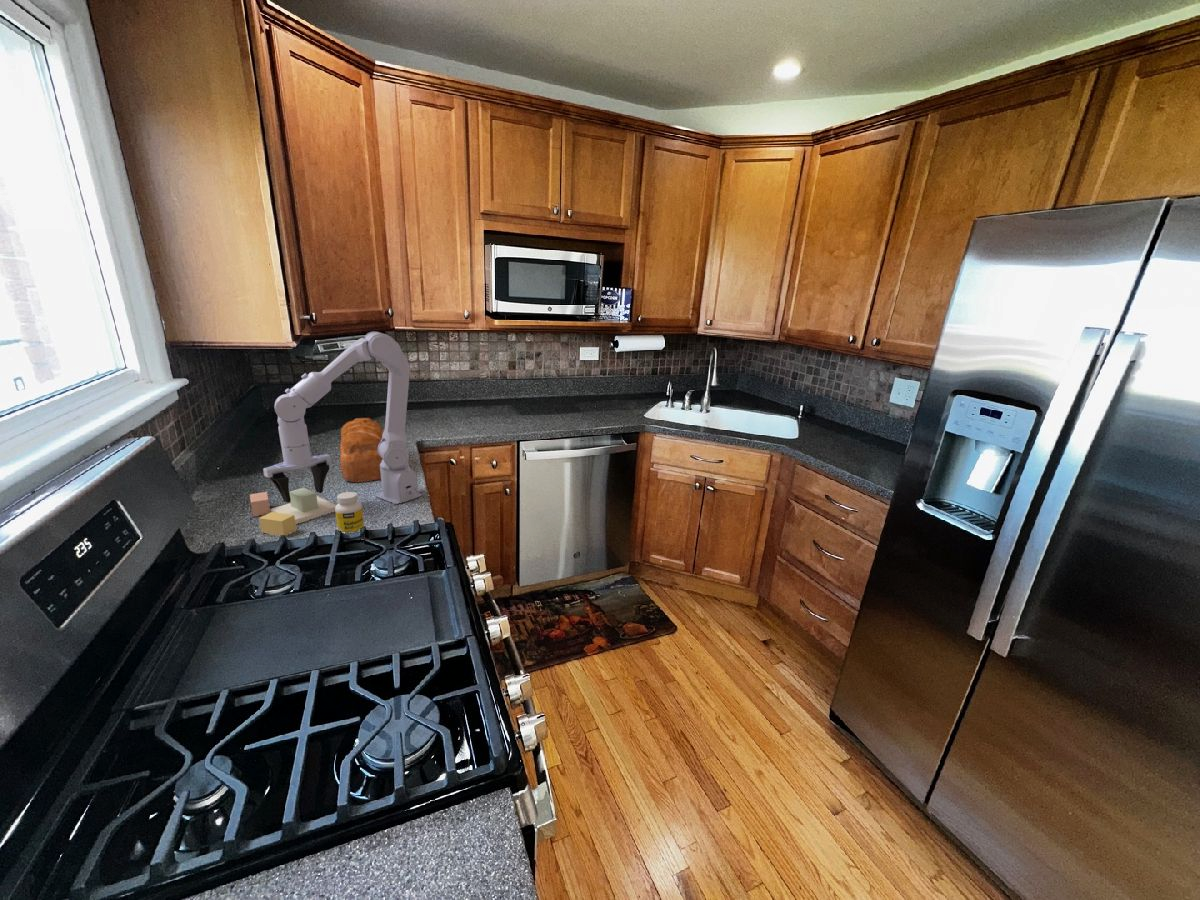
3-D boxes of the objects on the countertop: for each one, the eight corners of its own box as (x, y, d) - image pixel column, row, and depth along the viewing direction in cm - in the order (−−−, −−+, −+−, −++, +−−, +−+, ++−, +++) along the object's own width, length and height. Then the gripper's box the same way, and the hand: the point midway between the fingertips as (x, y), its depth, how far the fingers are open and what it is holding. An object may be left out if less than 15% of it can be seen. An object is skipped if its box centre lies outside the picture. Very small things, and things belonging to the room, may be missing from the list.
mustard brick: (296, 530, 109) (294, 514, 108) (284, 537, 106) (281, 521, 105) (274, 527, 110) (271, 511, 109) (261, 534, 107) (258, 518, 106)
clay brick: (270, 514, 117) (268, 499, 116) (253, 517, 115) (250, 502, 114) (269, 506, 122) (266, 491, 120) (252, 509, 120) (249, 494, 118)
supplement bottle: (344, 542, 105) (338, 501, 102) (334, 534, 108) (329, 494, 105) (369, 534, 109) (364, 495, 106) (359, 527, 112) (354, 488, 109)
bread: (386, 455, 166) (382, 411, 161) (394, 479, 143) (389, 430, 139) (341, 459, 159) (336, 414, 155) (342, 485, 137) (335, 434, 132)
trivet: (339, 510, 120) (338, 505, 120) (293, 525, 112) (292, 520, 111) (316, 499, 126) (316, 495, 126) (271, 513, 117) (270, 508, 117)
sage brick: (318, 507, 118) (316, 493, 117) (303, 512, 116) (301, 497, 114) (305, 502, 122) (303, 487, 120) (291, 506, 119) (288, 491, 118)
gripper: (317, 435, 122) (324, 484, 126) (253, 447, 110) (263, 501, 114) (332, 440, 118) (339, 490, 122) (267, 453, 106) (277, 508, 110)
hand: (303, 496), depth 118 cm, fingers open, 7 cm apart
